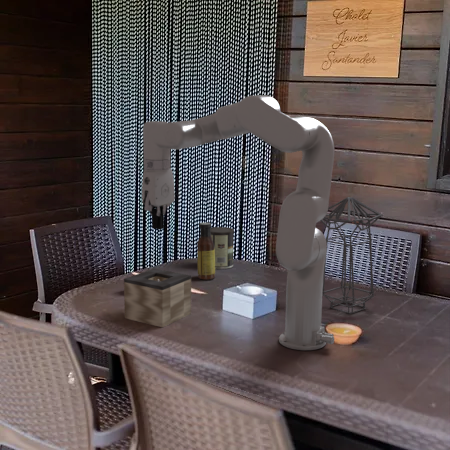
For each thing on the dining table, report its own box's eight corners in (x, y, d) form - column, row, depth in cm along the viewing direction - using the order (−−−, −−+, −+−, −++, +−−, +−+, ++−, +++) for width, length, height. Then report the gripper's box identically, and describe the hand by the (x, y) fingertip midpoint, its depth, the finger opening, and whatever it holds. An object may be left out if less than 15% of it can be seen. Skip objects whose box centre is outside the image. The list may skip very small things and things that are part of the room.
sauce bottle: (218, 277, 246) (219, 222, 242) (208, 281, 240) (209, 225, 236) (203, 274, 249) (203, 220, 245) (193, 278, 244) (193, 223, 240)
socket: (191, 314, 206) (191, 275, 204) (162, 327, 195) (162, 286, 192) (154, 305, 214) (153, 268, 211) (124, 318, 202) (124, 278, 200)
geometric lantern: (350, 320, 203) (352, 203, 196) (311, 307, 215) (312, 197, 208) (383, 308, 213) (387, 197, 206) (344, 297, 225) (346, 191, 218)
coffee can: (224, 261, 268) (225, 225, 266) (238, 267, 260) (239, 230, 257) (201, 264, 263) (201, 228, 260) (214, 270, 255) (215, 233, 252)
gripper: (151, 168, 187) (152, 234, 191) (183, 163, 199) (183, 225, 203) (129, 167, 191) (131, 231, 194) (162, 162, 203) (163, 222, 207)
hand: (158, 228), depth 199 cm, fingers closed
